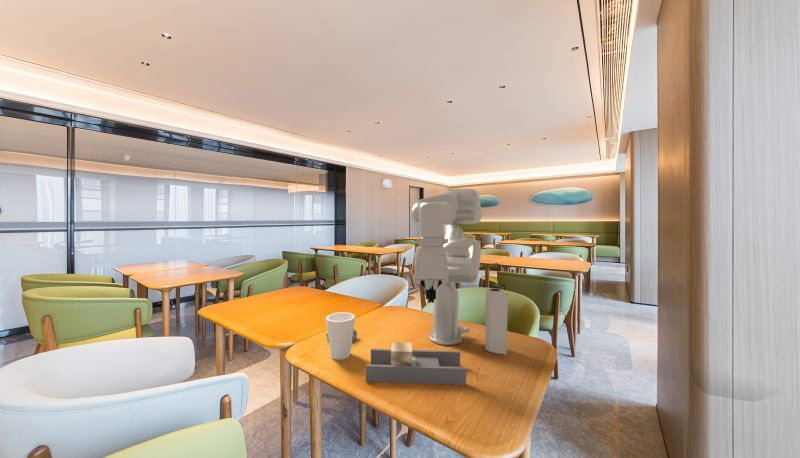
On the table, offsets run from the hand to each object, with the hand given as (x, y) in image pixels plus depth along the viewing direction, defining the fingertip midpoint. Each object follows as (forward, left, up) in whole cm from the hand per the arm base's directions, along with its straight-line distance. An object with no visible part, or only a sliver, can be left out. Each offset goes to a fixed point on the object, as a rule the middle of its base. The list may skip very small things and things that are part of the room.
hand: (430, 301), depth 91 cm
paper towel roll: (-26, -3, -21) cm, 33 cm away
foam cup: (+26, -15, -21) cm, 37 cm away
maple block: (+10, +2, -17) cm, 20 cm away
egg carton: (+24, -28, -21) cm, 42 cm away
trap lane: (+6, +3, -20) cm, 21 cm away
